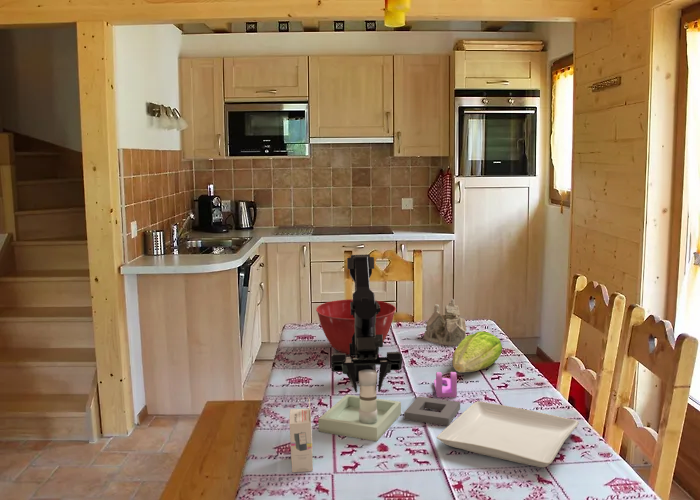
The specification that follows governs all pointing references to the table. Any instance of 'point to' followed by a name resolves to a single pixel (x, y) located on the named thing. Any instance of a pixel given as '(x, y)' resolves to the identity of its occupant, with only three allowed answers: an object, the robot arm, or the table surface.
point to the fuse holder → (419, 414)
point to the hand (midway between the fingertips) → (367, 391)
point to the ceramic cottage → (446, 326)
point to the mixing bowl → (349, 322)
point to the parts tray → (346, 418)
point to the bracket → (446, 390)
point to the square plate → (509, 433)
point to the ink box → (301, 440)
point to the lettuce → (476, 352)
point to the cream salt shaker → (368, 396)
